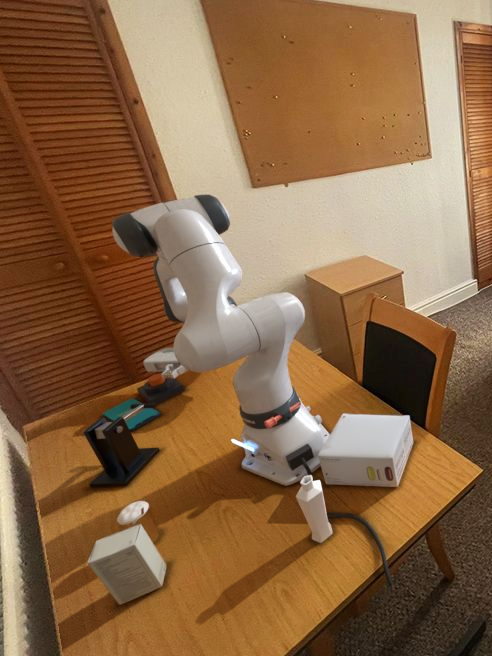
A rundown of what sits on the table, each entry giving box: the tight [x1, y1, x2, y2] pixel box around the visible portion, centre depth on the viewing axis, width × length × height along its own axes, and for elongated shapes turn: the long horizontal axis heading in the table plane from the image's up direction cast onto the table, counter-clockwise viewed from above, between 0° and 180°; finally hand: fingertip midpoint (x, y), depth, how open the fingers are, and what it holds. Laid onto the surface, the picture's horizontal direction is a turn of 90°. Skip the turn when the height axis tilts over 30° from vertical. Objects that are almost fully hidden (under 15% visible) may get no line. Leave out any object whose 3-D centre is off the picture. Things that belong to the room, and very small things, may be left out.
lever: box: [95, 402, 158, 439], centre depth 96 cm, size 12×6×2 cm, turn 3°
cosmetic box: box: [87, 524, 168, 606], centre depth 70 cm, size 6×4×12 cm
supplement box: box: [318, 412, 414, 488], centre depth 95 cm, size 17×13×9 cm
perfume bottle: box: [295, 475, 334, 544], centre depth 78 cm, size 5×4×15 cm
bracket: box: [82, 417, 161, 489], centre depth 93 cm, size 10×8×14 cm
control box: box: [136, 378, 186, 405], centre depth 120 cm, size 10×8×4 cm
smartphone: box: [102, 397, 161, 432], centre depth 112 cm, size 7×1×15 cm
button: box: [147, 372, 166, 386], centre depth 119 cm, size 4×4×2 cm
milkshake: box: [116, 500, 160, 544], centre depth 78 cm, size 4×5×10 cm
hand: (167, 376), depth 109 cm, fingers closed
